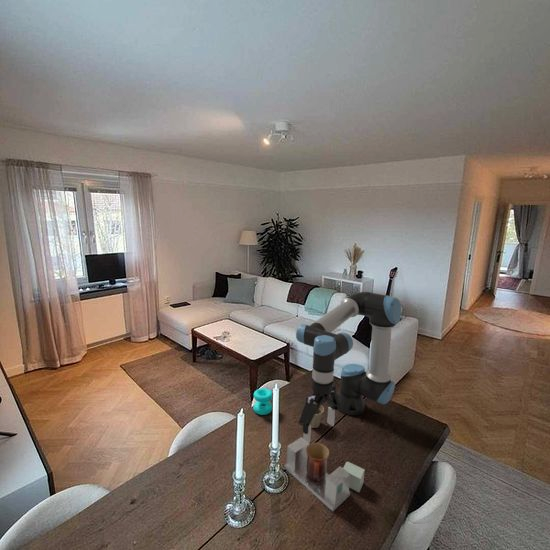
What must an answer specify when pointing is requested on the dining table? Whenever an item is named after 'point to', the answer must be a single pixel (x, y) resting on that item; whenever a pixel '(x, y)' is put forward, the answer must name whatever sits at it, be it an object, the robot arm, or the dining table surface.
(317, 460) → the mug
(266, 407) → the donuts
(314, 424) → the flower pot
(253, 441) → the dining table surface
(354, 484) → the block
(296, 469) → the grey u-shaped block
